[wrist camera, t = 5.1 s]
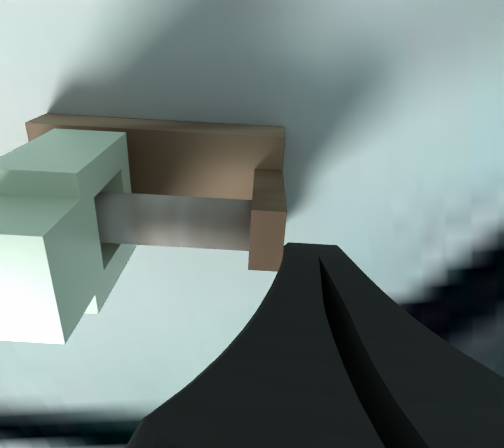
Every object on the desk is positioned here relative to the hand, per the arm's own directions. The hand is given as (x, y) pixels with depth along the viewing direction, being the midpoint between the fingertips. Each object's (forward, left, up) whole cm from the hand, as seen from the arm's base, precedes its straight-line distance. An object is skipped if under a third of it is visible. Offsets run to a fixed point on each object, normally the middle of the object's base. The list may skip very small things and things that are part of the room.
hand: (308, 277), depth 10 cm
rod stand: (+5, 0, -7) cm, 8 cm away
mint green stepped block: (+7, 0, -5) cm, 9 cm away
